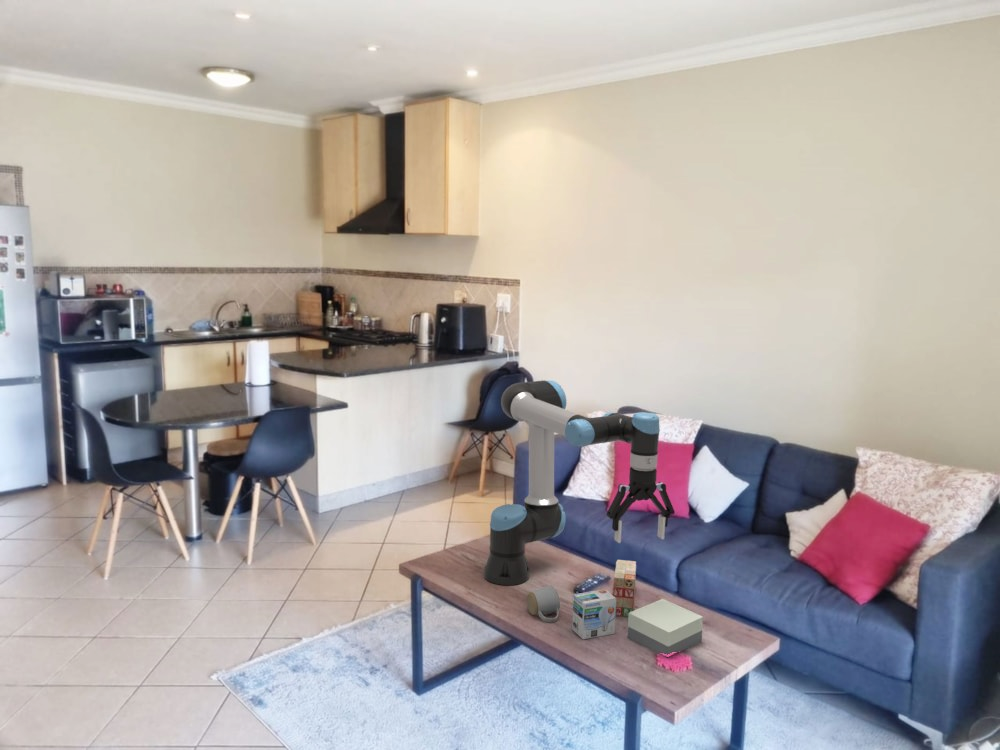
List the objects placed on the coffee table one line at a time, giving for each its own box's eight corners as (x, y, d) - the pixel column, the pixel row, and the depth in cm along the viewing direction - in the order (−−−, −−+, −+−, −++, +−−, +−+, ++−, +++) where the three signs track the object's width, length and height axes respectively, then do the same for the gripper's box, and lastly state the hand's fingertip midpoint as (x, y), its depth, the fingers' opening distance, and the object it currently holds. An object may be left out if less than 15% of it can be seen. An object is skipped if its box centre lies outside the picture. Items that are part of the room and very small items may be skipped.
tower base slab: (627, 639, 210) (628, 626, 210) (661, 624, 220) (662, 611, 219) (667, 660, 200) (668, 646, 199) (701, 643, 209) (702, 630, 208)
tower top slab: (627, 626, 210) (628, 612, 209) (661, 611, 219) (662, 598, 218) (668, 646, 199) (669, 632, 198) (702, 630, 208) (703, 616, 208)
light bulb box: (582, 640, 208) (584, 603, 206) (571, 629, 214) (572, 593, 212) (615, 633, 212) (617, 597, 211) (603, 623, 218) (604, 588, 217)
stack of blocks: (615, 586, 244) (617, 550, 242) (635, 588, 243) (637, 552, 241) (611, 615, 223) (613, 576, 222) (633, 618, 222) (635, 578, 220)
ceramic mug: (524, 609, 225) (525, 585, 224) (548, 605, 229) (549, 581, 228) (541, 625, 216) (542, 601, 215) (565, 620, 219) (566, 596, 218)
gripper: (608, 473, 204) (604, 547, 208) (689, 469, 211) (684, 540, 214) (597, 466, 212) (593, 538, 215) (676, 462, 218) (672, 531, 222)
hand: (639, 539), depth 215 cm, fingers open, 13 cm apart
